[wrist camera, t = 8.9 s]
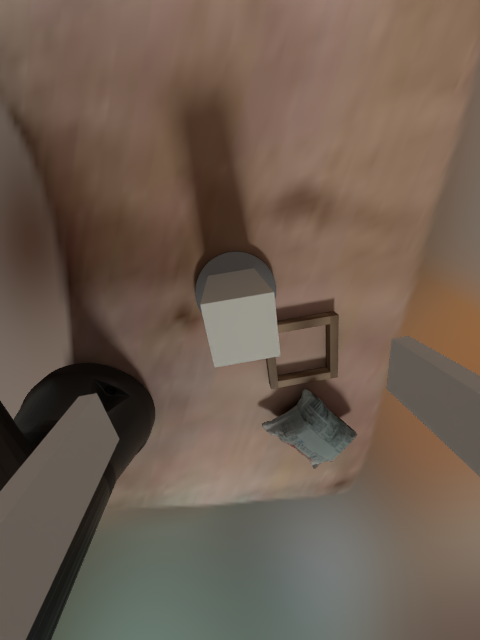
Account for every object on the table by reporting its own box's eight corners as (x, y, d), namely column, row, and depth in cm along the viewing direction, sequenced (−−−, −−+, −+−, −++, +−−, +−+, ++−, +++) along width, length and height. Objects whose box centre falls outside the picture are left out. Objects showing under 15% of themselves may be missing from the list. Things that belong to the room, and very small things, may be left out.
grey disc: (205, 333, 28) (204, 336, 27) (187, 258, 24) (186, 259, 24) (277, 321, 28) (279, 323, 27) (270, 244, 24) (272, 245, 24)
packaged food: (307, 452, 37) (319, 483, 33) (258, 415, 33) (265, 444, 29) (350, 421, 36) (369, 449, 31) (304, 378, 32) (319, 402, 27)
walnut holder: (269, 383, 31) (271, 389, 30) (261, 323, 28) (263, 327, 27) (333, 371, 31) (337, 377, 30) (333, 311, 28) (338, 314, 27)
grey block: (216, 318, 26) (214, 367, 17) (207, 275, 24) (200, 304, 15) (259, 311, 26) (280, 355, 17) (253, 268, 24) (274, 292, 15)
